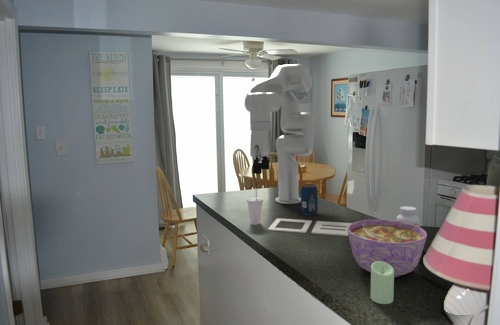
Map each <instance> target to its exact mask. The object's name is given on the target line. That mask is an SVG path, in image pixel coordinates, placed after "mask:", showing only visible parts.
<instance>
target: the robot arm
mask: <svg viewBox="0 0 500 325" xmlns="http://www.w3.org/2000/svg"><path fill="white" fill-rule="evenodd" d="M312 85H313V79H312V76H311V73H310V72H309V70H307V68H306V66H304V65H303V64H301V63H294V64H290V63H289V64H282V65H280V64H279V65H278V66H276V67H275V68H274V70H273V72H272V73H271V75H270V76H269V78H267V79H266V80H264V81H261V82H259V83H256V84H255V85H253V86H251V88H250V89H249V90H248V92H247V94H246V96H245V98H244V107H245V109H246V111H248V112H249V117H250V118H249V119H250V120H249V121H250V128H249V129H250V131H251V132H250V149H249V150H250V158H252V173H253V174H254V175H258V174H259V175H261V174H262V173H263V172H262V171H263V170H270V151H271V150H270V149H271V148H270V147H271V144H270V131H271V113H276V112H278V111H280V130H281V131H282V132H283V133H287V134H283V135H280V136H278V137H277V138H276V139H275V150H276V155H277V156H276V157H277V178H278V180H277V184H278V185H277V188H278V196H277V197H275V198H274V199H275V202H276V203H278V204H280V205H281V204H283V205H294V204H299V203H300V204H301V196H300V197H299V163H298V162H297V160H296V158H295V157H294V156H302V157H303V156H304V157H305V156H307V157H308V156H310V155H312V153H313V150H314V143H315V139H314V138H315V117H314V115H313V114H312V113H311V112H307V111H305V112H304V111H303V112H300V104H301V103H300V100H299V99H298V98H297V96H295V94H294V93H306V92H309V91H310V90H311V89H312V88H313V86H312ZM288 133H289V134H288ZM292 133H293V134H292ZM298 133H299V134H301V133H302V134H301V135H299V134H298Z"/></svg>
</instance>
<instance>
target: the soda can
mask: <svg viewBox="0 0 500 325" xmlns="http://www.w3.org/2000/svg"><path fill="white" fill-rule="evenodd" d="M300 198H301V202H300V212H301V213H302V214H303V215H304V216H313V215H316V214H317V213H318V207H319V206H318V205H319V204H318V202H319V201H318V198H319V197H318V188H317V185H316V184H312V183H310V184H309V183H308V184H307V183H305V184H302V185H301V188H300Z"/></svg>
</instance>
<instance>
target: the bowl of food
mask: <svg viewBox="0 0 500 325" xmlns="http://www.w3.org/2000/svg"><path fill="white" fill-rule="evenodd" d="M351 223H352V224H350V225H349V226H348V228H347V231H348V236H347V237H348V240H349V244H350V248H351V253H352V255H353V258H354V260H355V261H356V263H357V264H358V265H359V267H361V269H364V270H365V271H367V272H368V273H370V274H371V265H372V263H374V262H376V261H382V262H386V263H388V264H389V265H391V266H392V267H393V269H394V279H395V278H398V277H400V276H404V275H406V274H409V273H411V272H413V270H414V269H415V268H417V266H418V264H419V262H420V259H421V257H422V253H423V250H424V247H425V244H426V241H427V239H428V234H427V231H426V230H424V229H423V228H422V227H420V226H419V227H418V226H415V225H412V224H409V223H404V222H399V221H396V220H390V219H364V220H359V221H358V220H357V221H355V222H351Z"/></svg>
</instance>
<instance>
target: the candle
mask: <svg viewBox="0 0 500 325" xmlns="http://www.w3.org/2000/svg"><path fill="white" fill-rule="evenodd" d="M394 283H395V278H394V269H393V267H392V266H391V265H389V264H388V263H386V262H382V261H376V262H374V263H372V265H371V273H370V299H371V300H372V302H374V303H376V304H380V305H390V304H392V303H393V302H394V293H395V292H394V291H395V290H394V288H395V284H394Z"/></svg>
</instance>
